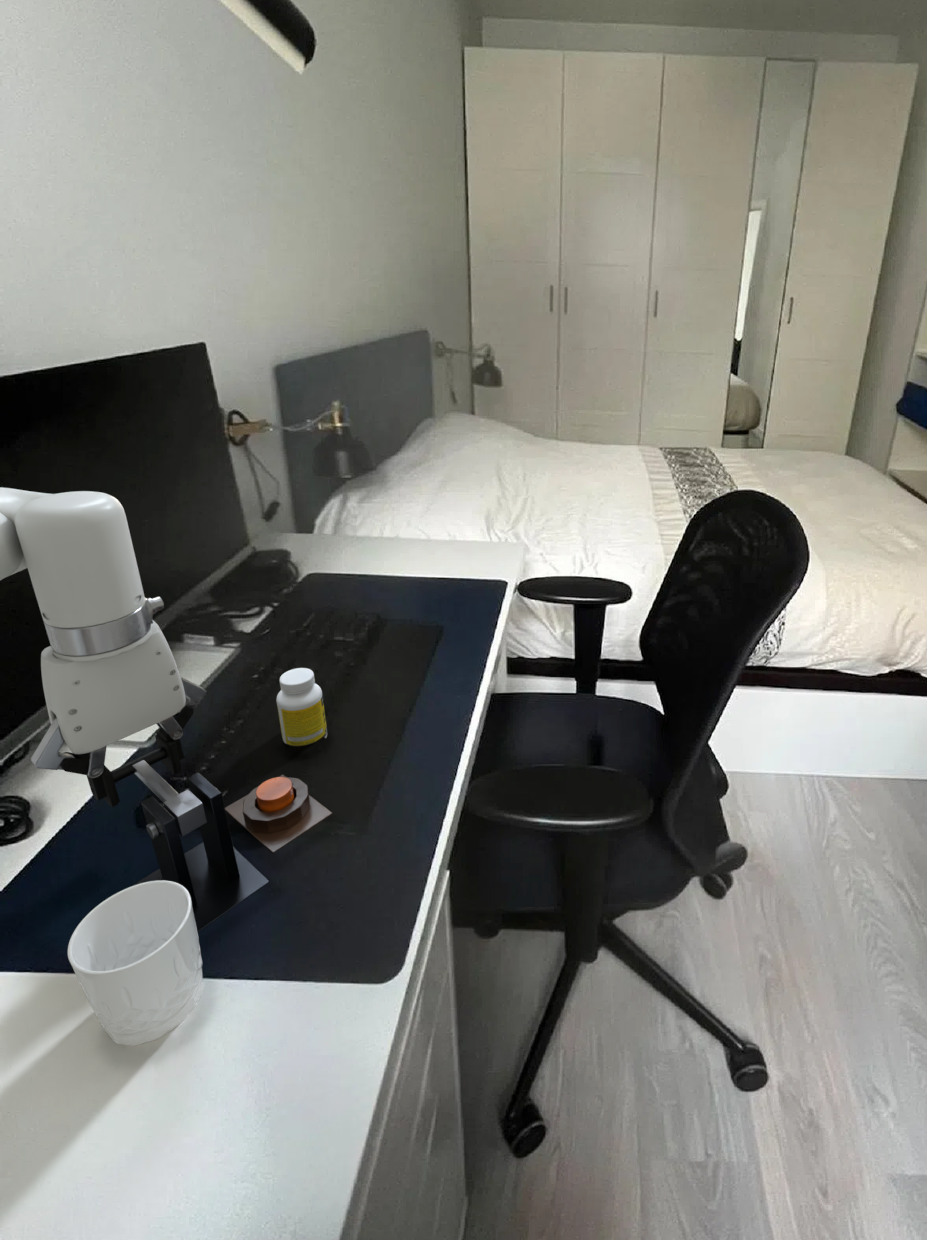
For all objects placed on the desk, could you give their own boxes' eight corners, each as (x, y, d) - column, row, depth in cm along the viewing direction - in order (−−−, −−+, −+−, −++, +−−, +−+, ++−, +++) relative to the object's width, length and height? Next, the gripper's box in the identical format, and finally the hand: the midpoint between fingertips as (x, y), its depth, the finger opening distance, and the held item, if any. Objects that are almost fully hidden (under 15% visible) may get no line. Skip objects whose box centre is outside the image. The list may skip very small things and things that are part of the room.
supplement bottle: (335, 740, 85) (327, 676, 82) (294, 759, 82) (283, 694, 78) (316, 721, 89) (307, 660, 85) (276, 739, 85) (265, 675, 81)
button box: (225, 816, 73) (220, 795, 72) (284, 782, 78) (280, 762, 77) (274, 861, 67) (270, 839, 66) (334, 821, 73) (331, 800, 72)
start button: (251, 802, 71) (249, 790, 71) (282, 784, 74) (280, 772, 73) (269, 818, 69) (267, 805, 69) (300, 798, 72) (298, 786, 71)
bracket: (137, 892, 63) (108, 797, 59) (220, 840, 70) (200, 752, 65) (186, 951, 58) (158, 852, 54) (271, 890, 64) (253, 796, 60)
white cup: (81, 1024, 52) (47, 937, 48) (181, 947, 58) (158, 864, 55) (131, 1085, 48) (99, 995, 45) (233, 995, 55) (212, 910, 51)
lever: (109, 785, 64) (103, 766, 63) (164, 758, 68) (159, 740, 67) (165, 847, 58) (160, 826, 57) (222, 813, 62) (218, 794, 61)
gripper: (179, 585, 68) (209, 728, 75) (-35, 650, 55) (25, 815, 62) (216, 606, 64) (244, 755, 71) (-5, 681, 51) (55, 855, 58)
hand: (141, 781), depth 66 cm, fingers closed on lever, 5 cm apart
